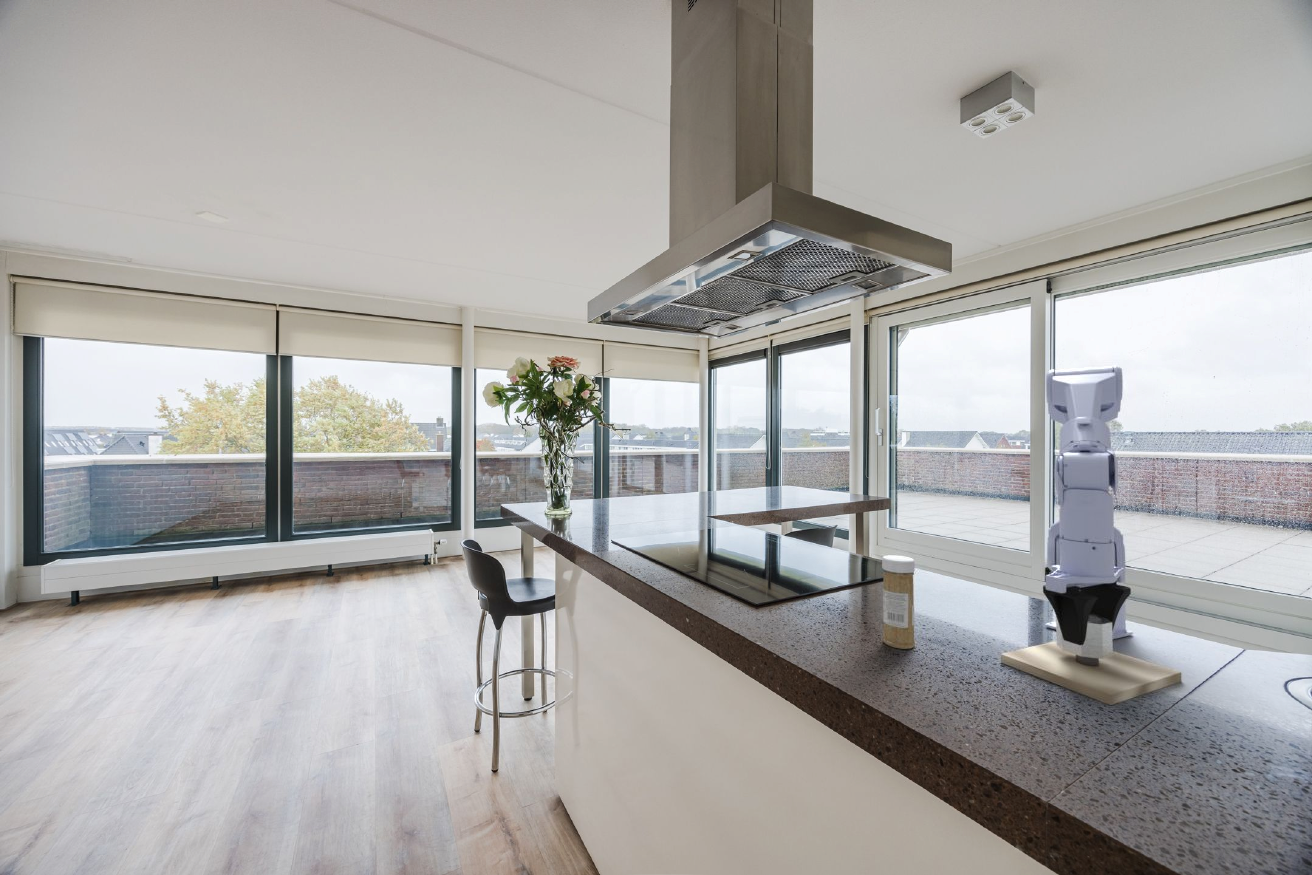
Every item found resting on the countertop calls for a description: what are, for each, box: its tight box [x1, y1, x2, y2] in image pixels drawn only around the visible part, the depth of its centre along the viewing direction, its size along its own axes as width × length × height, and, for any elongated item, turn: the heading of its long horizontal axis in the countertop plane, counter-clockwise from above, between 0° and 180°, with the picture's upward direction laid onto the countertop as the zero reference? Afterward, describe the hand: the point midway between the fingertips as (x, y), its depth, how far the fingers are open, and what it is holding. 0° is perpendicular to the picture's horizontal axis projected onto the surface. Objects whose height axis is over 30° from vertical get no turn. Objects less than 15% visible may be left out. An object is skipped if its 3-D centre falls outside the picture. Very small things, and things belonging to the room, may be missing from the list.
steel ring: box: [1055, 614, 1114, 659], centre depth 71 cm, size 6×6×4 cm
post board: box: [1000, 640, 1182, 706], centre depth 70 cm, size 16×13×6 cm
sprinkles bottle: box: [881, 554, 916, 650], centre depth 80 cm, size 5×5×13 cm
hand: (1087, 639), depth 70 cm, fingers closed on steel ring, 5 cm apart
